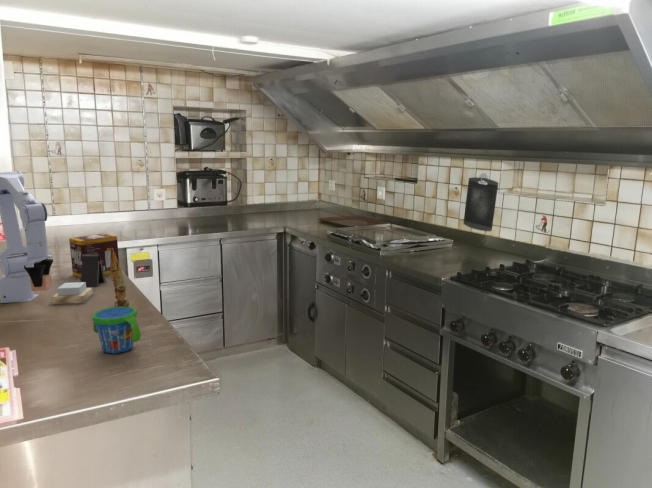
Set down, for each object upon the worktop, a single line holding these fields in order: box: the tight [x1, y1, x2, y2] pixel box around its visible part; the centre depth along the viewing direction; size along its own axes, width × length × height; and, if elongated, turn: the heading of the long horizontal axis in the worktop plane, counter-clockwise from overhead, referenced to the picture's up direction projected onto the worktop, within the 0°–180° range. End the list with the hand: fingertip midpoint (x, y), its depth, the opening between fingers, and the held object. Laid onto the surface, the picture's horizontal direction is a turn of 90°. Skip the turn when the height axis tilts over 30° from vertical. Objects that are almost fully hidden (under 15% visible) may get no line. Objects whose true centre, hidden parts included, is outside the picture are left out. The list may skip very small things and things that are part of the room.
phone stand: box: [80, 254, 107, 288], centre depth 198 cm, size 9×6×12 cm, turn 2°
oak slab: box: [51, 287, 94, 305], centre depth 180 cm, size 10×10×2 cm
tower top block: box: [57, 281, 87, 296], centre depth 179 cm, size 7×7×2 cm
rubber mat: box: [48, 293, 97, 306], centre depth 180 cm, size 12×12×1 cm
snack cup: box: [91, 306, 142, 355], centre depth 137 cm, size 16×10×10 cm
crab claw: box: [109, 248, 130, 307], centre depth 172 cm, size 7×5×20 cm
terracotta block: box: [30, 274, 53, 292], centre depth 166 cm, size 4×4×4 cm
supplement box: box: [68, 232, 120, 279], centre depth 216 cm, size 10×15×16 cm
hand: (41, 284), depth 166 cm, fingers closed on terracotta block, 4 cm apart
